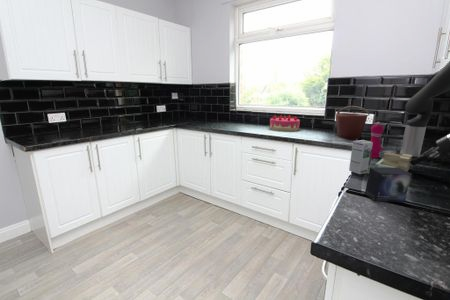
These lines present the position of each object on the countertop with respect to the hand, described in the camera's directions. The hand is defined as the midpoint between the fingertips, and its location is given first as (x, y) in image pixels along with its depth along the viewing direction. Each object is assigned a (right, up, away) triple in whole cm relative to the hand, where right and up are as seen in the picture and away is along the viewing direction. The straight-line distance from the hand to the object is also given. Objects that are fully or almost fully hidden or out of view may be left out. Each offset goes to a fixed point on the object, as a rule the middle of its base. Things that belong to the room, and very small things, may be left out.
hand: (411, 163), depth 108 cm
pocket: (-6, -2, +7) cm, 10 cm away
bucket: (+15, +17, +83) cm, 85 cm away
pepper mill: (-2, +2, +26) cm, 26 cm away
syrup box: (-25, -4, 0) cm, 25 cm away
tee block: (-4, -3, +5) cm, 7 cm away
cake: (-28, +27, +121) cm, 127 cm away
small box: (-31, -11, -27) cm, 42 cm away
